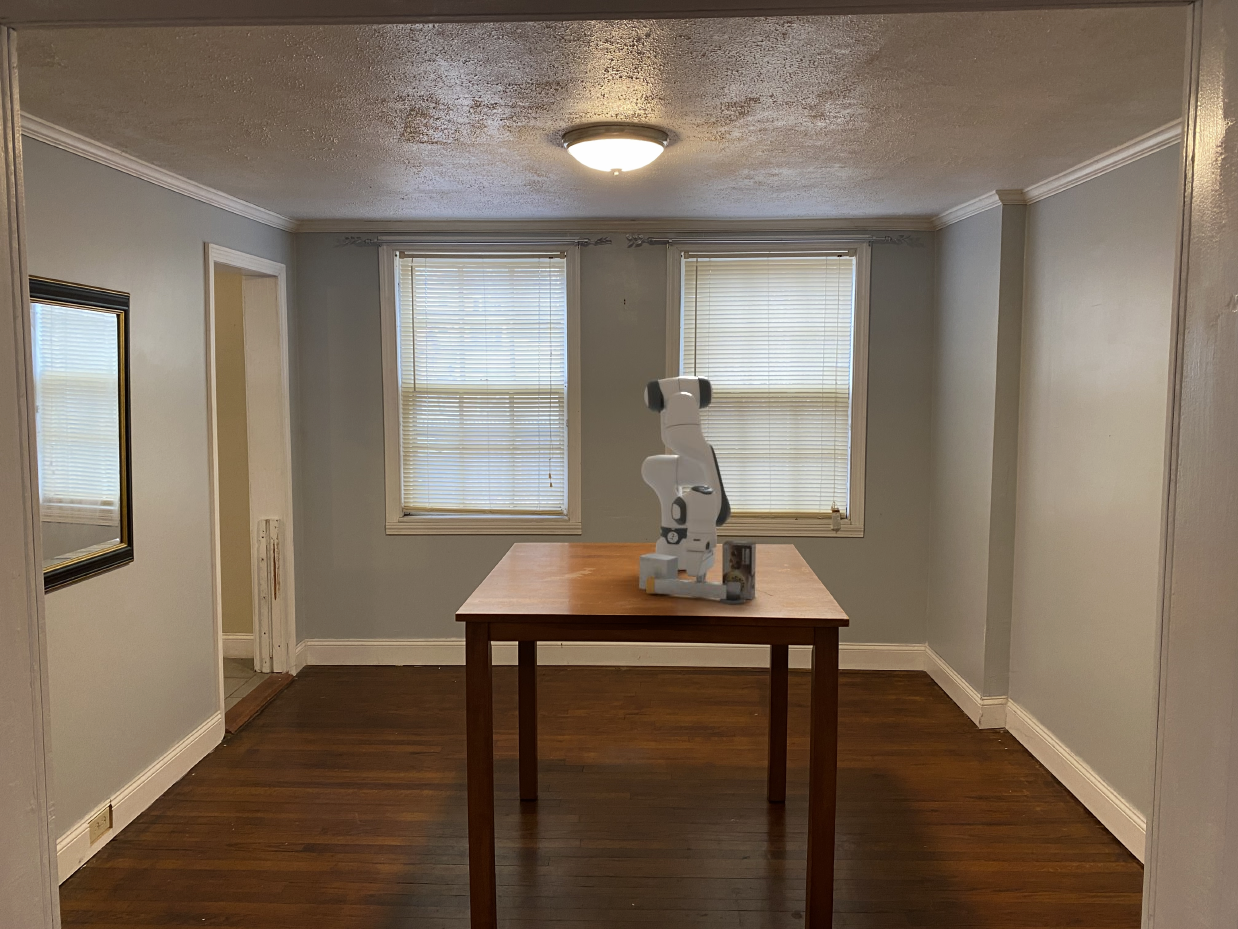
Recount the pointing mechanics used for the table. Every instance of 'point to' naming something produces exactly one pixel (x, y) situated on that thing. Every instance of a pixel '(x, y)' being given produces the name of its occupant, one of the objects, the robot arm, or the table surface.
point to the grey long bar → (694, 588)
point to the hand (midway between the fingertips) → (701, 586)
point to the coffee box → (740, 565)
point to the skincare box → (657, 567)
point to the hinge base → (733, 601)
